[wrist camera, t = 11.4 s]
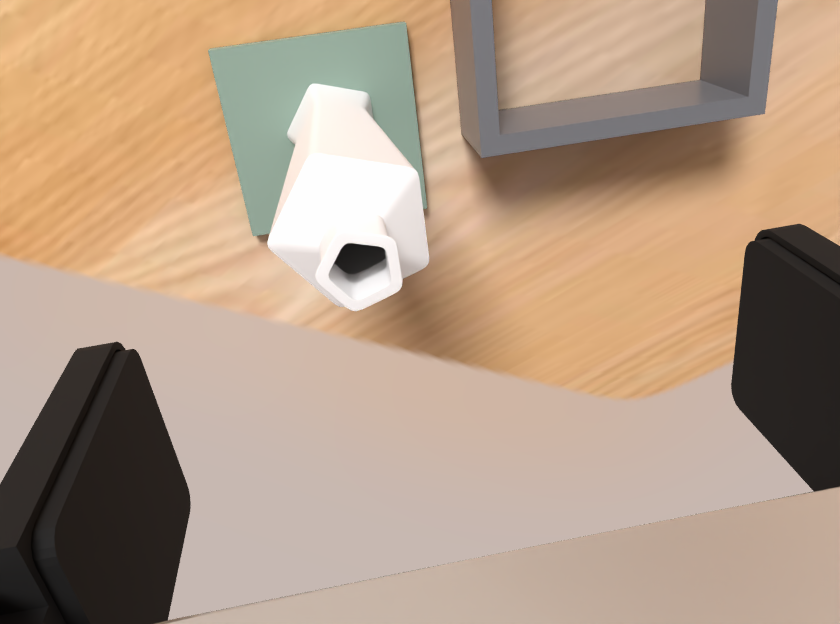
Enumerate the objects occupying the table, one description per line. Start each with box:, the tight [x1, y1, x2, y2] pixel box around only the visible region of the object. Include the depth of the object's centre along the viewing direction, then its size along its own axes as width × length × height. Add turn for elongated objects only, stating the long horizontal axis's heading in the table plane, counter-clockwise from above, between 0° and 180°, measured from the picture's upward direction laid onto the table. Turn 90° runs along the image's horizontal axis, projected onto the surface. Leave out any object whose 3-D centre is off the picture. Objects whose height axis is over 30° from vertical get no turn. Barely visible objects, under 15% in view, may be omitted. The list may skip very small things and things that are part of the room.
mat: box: [208, 22, 427, 236], centre depth 31 cm, size 8×8×1 cm
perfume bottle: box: [267, 84, 429, 311], centre depth 24 cm, size 5×4×15 cm
